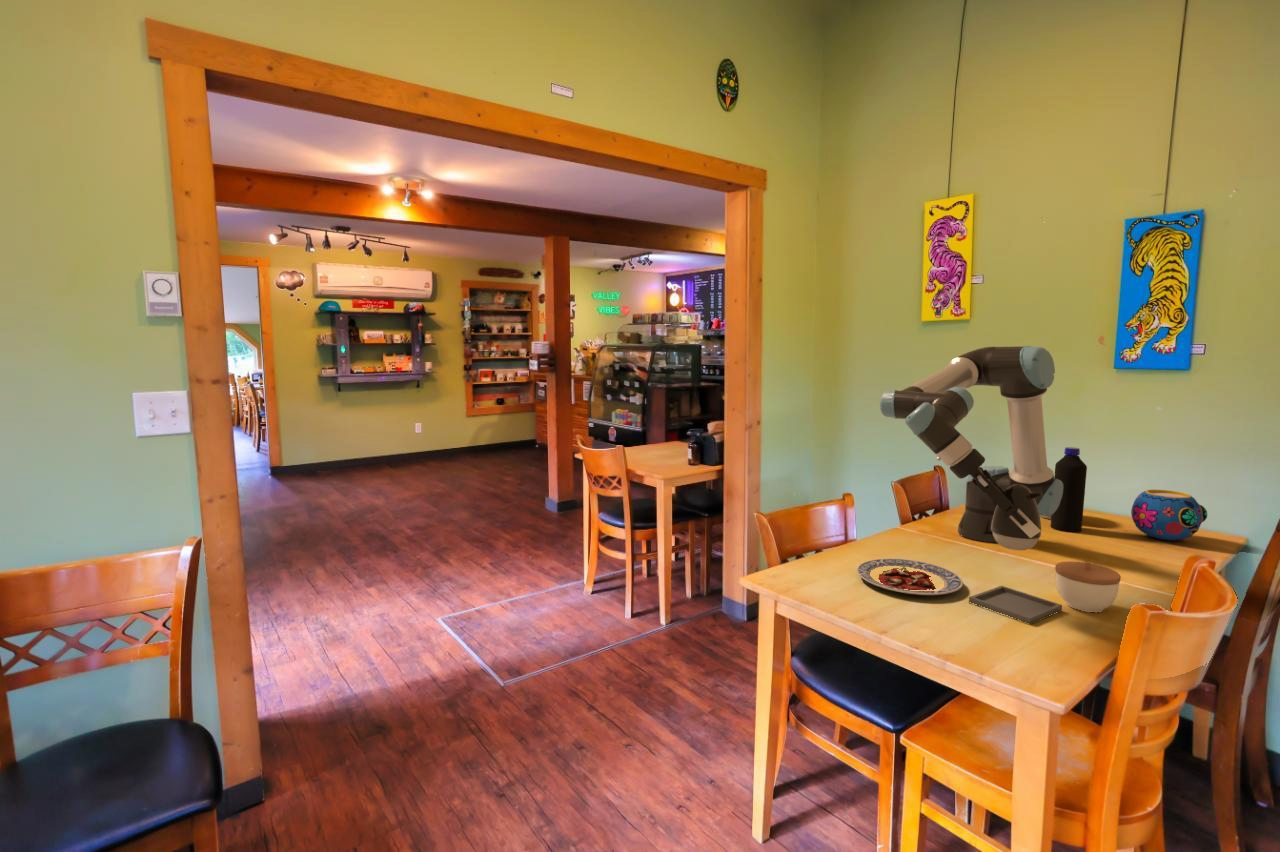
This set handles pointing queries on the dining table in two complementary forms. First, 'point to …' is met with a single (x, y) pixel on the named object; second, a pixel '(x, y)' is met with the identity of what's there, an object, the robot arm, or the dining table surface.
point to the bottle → (1070, 492)
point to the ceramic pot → (1167, 514)
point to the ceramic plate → (910, 576)
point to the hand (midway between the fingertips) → (1031, 528)
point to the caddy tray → (1016, 604)
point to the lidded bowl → (1086, 585)
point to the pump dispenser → (1007, 529)
